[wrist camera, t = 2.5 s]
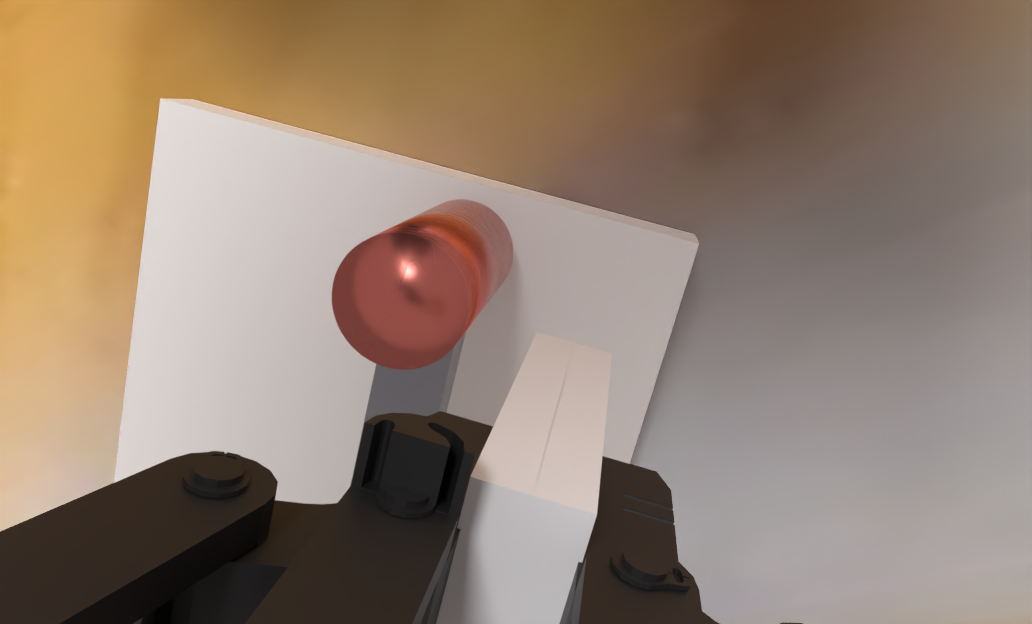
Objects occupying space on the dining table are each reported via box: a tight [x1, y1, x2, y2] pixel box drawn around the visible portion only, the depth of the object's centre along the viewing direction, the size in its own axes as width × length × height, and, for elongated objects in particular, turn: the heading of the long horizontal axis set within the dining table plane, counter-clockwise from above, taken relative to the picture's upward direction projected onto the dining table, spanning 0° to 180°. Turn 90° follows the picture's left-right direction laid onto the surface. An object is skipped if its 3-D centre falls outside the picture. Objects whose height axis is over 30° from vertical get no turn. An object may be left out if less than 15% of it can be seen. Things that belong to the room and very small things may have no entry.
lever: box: [332, 199, 513, 486], centre depth 24 cm, size 22×4×7 cm, turn 166°
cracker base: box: [114, 98, 699, 504], centre depth 29 cm, size 22×18×4 cm
